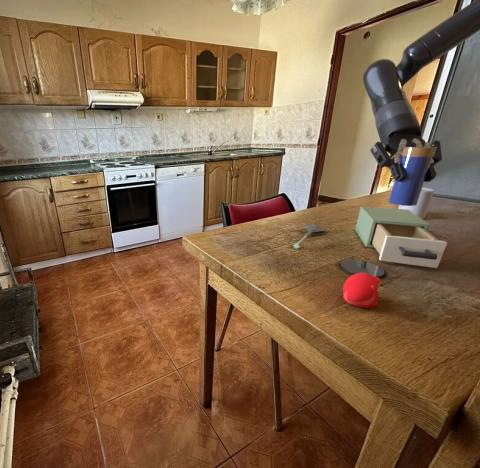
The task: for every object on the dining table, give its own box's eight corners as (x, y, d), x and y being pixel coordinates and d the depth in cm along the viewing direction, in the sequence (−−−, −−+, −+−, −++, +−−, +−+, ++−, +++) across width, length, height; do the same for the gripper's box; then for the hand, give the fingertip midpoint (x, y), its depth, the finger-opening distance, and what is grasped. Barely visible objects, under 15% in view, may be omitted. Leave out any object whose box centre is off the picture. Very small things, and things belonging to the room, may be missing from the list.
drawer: (446, 276, 59) (457, 249, 57) (384, 267, 64) (392, 242, 61) (413, 245, 75) (421, 223, 73) (366, 240, 79) (372, 219, 77)
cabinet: (420, 253, 72) (430, 224, 69) (365, 246, 77) (373, 219, 74) (400, 234, 85) (408, 209, 82) (355, 230, 90) (360, 206, 87)
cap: (370, 317, 49) (379, 290, 46) (335, 303, 53) (341, 277, 51) (381, 299, 53) (390, 274, 51) (348, 288, 58) (355, 264, 55)
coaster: (378, 264, 67) (378, 262, 67) (389, 281, 60) (389, 279, 59) (338, 258, 71) (338, 257, 71) (343, 274, 63) (344, 272, 63)
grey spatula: (327, 233, 90) (307, 229, 95) (328, 223, 89) (308, 221, 94) (307, 251, 75) (284, 246, 80) (308, 240, 74) (285, 236, 79)
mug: (423, 221, 97) (433, 192, 93) (394, 216, 103) (402, 189, 99) (426, 214, 104) (435, 187, 100) (398, 210, 110) (406, 184, 106)
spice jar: (412, 201, 63) (430, 146, 59) (421, 206, 59) (441, 147, 54) (384, 199, 66) (400, 146, 61) (391, 204, 61) (408, 147, 56)
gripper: (373, 113, 63) (391, 169, 56) (440, 110, 61) (467, 169, 54) (357, 136, 69) (371, 189, 63) (416, 134, 67) (438, 189, 61)
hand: (415, 179), depth 58 cm, fingers closed on spice jar, 5 cm apart
